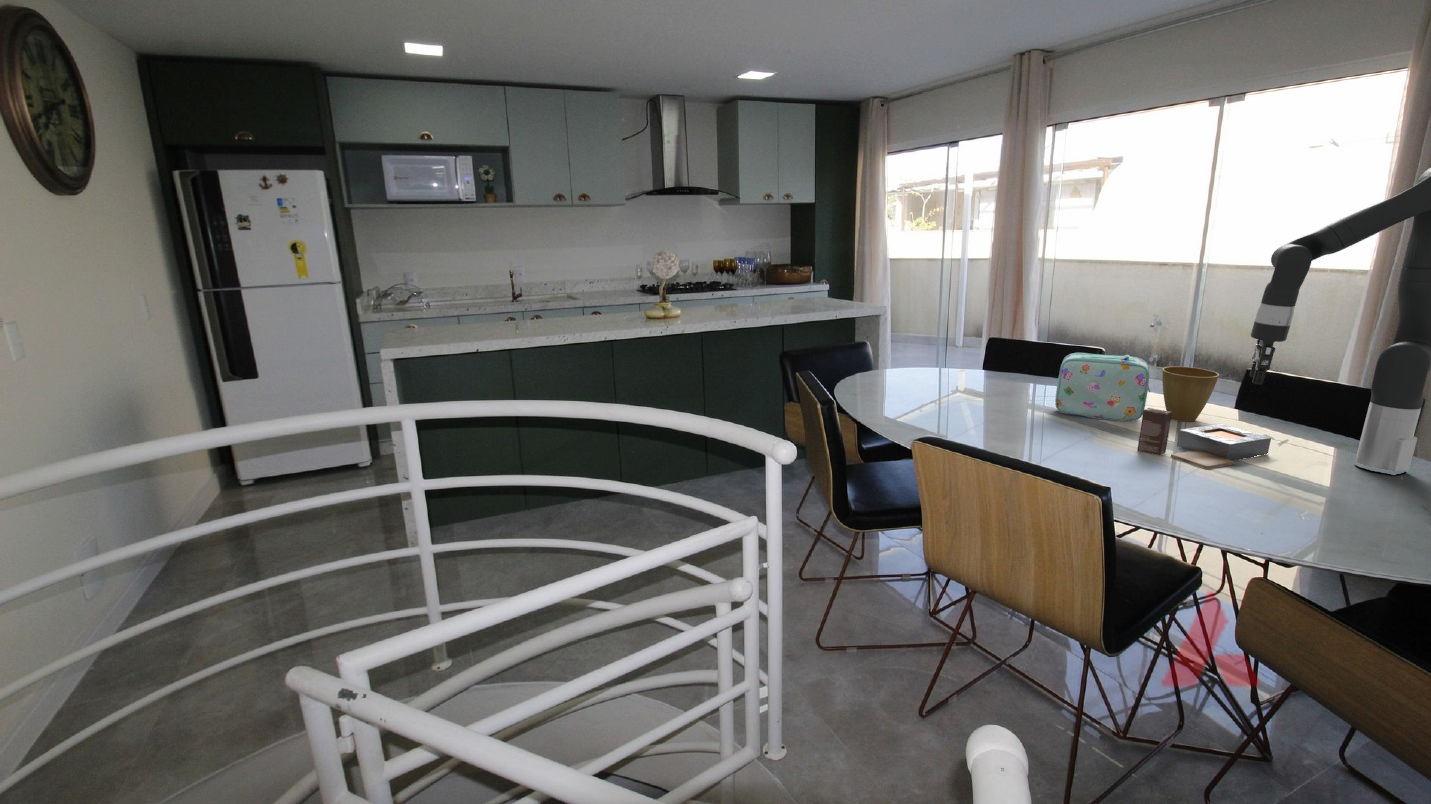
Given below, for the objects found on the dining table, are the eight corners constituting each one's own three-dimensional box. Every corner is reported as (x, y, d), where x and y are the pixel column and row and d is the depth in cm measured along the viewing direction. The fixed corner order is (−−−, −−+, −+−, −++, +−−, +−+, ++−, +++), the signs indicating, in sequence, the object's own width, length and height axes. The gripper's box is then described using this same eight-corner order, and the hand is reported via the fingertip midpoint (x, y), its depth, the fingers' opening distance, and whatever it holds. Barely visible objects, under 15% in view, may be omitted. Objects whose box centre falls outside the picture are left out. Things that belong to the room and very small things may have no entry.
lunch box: (1145, 417, 220) (1156, 353, 214) (1146, 426, 211) (1157, 359, 205) (1055, 407, 233) (1063, 346, 227) (1052, 414, 224) (1060, 351, 219)
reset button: (1241, 442, 185) (1242, 437, 185) (1226, 444, 184) (1227, 439, 183) (1219, 436, 191) (1220, 431, 190) (1204, 438, 189) (1205, 433, 189)
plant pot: (1144, 416, 221) (1152, 369, 217) (1172, 410, 227) (1180, 364, 223) (1191, 428, 208) (1200, 378, 204) (1220, 422, 214) (1229, 373, 210)
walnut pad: (1233, 464, 177) (1234, 461, 177) (1206, 469, 174) (1207, 466, 174) (1197, 452, 186) (1197, 450, 186) (1170, 456, 183) (1171, 454, 183)
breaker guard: (1267, 455, 184) (1271, 437, 183) (1226, 462, 179) (1229, 443, 178) (1216, 440, 197) (1219, 423, 196) (1176, 446, 192) (1179, 428, 191)
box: (1166, 452, 187) (1173, 411, 184) (1160, 456, 184) (1167, 414, 181) (1142, 447, 191) (1148, 407, 188) (1136, 450, 189) (1142, 409, 185)
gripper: (1294, 327, 169) (1276, 388, 174) (1287, 319, 181) (1270, 377, 186) (1257, 323, 173) (1240, 383, 178) (1252, 316, 185) (1236, 372, 189)
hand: (1255, 380), depth 182 cm, fingers open, 8 cm apart
